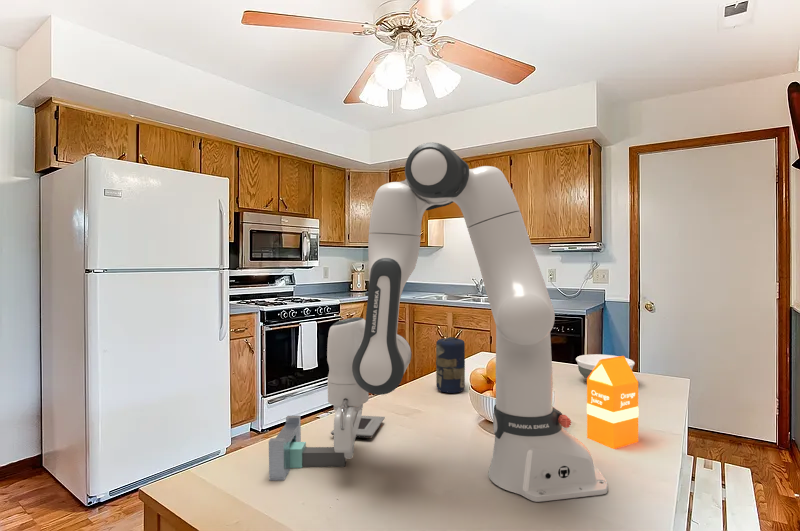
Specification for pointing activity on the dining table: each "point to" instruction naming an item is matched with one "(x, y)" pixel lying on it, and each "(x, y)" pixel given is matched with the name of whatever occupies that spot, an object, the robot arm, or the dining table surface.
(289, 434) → the grey piece
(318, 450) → the plug
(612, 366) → the orange juice
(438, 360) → the canister
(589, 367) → the bowl
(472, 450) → the dining table surface
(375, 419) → the electrical outlet
